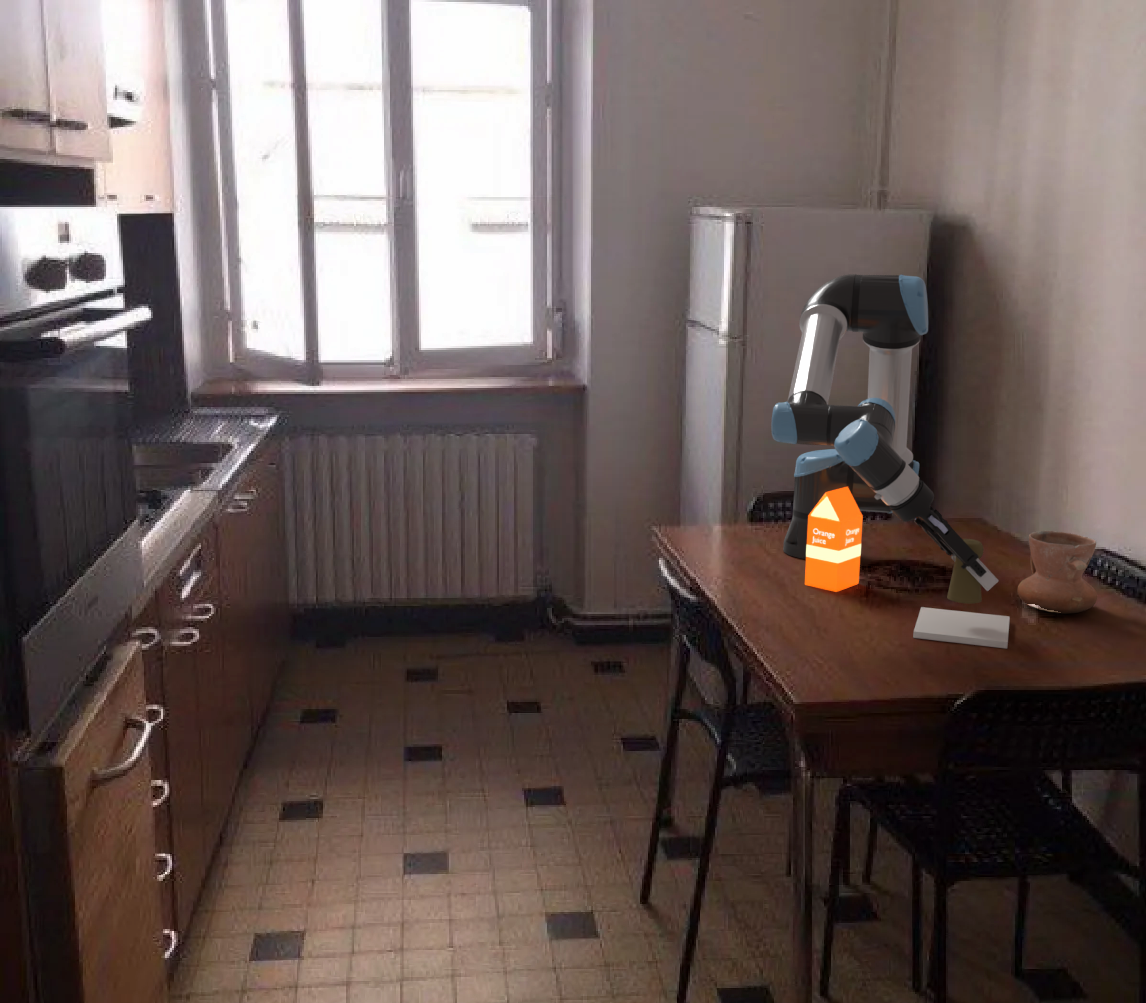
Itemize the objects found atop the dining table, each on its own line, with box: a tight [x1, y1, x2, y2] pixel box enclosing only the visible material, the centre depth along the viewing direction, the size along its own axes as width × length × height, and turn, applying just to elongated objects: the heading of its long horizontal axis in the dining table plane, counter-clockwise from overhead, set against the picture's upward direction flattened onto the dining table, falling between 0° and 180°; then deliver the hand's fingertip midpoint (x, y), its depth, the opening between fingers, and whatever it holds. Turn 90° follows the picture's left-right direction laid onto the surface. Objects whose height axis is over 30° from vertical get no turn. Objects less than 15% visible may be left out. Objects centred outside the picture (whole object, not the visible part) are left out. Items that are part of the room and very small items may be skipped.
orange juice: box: [804, 487, 864, 593], centre depth 257 cm, size 8×9×20 cm
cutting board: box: [912, 606, 1011, 649], centre depth 230 cm, size 16×16×1 cm
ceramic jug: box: [1017, 530, 1098, 615], centre depth 243 cm, size 18×14×14 cm
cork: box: [946, 538, 984, 605], centre depth 227 cm, size 6×6×11 cm
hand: (985, 580), depth 228 cm, fingers closed on cork, 5 cm apart
